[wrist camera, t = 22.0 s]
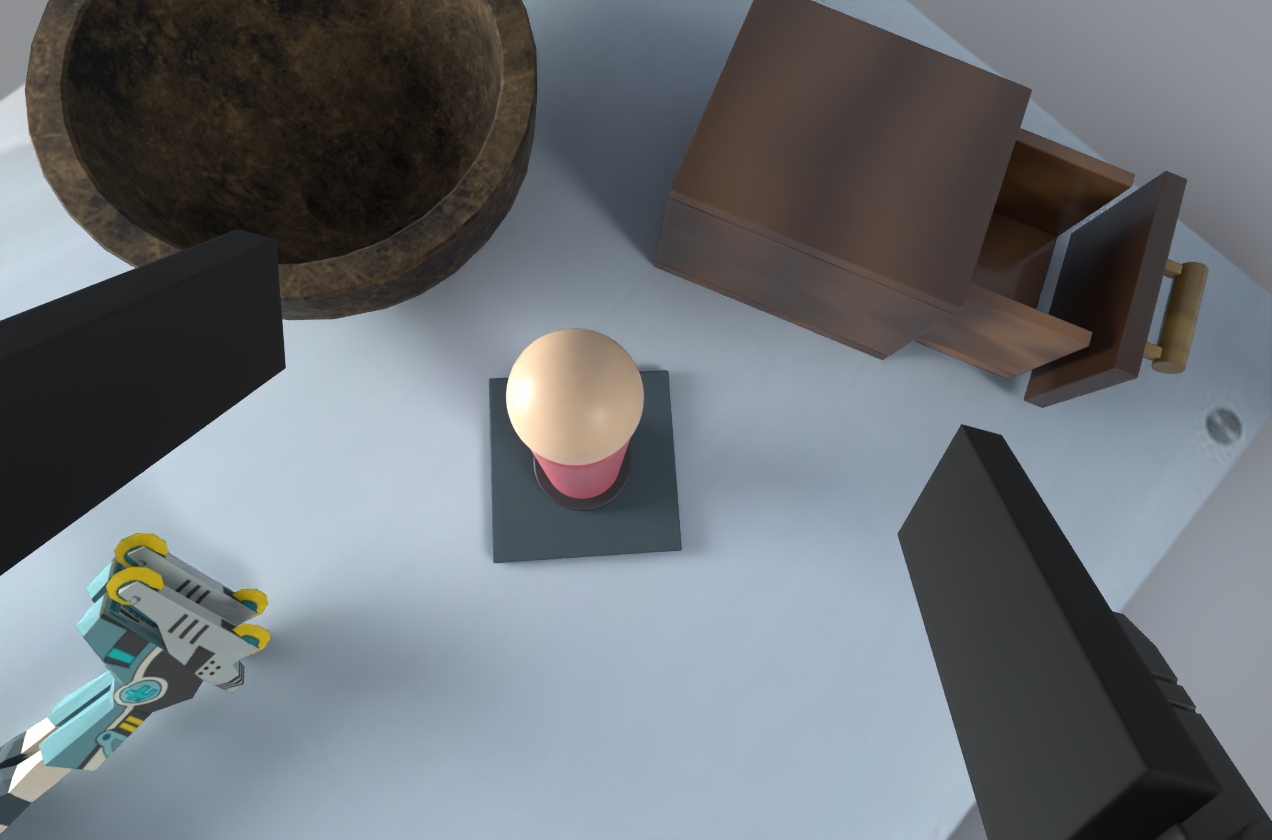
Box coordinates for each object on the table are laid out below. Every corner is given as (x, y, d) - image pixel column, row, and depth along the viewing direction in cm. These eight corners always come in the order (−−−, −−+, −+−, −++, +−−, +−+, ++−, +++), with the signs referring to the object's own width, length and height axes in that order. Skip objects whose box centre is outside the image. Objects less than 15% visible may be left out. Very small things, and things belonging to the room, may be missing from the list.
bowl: (91, 264, 37) (-90, 161, 27) (298, -26, 41) (207, -205, 31) (440, 432, 36) (384, 389, 26) (612, 120, 41) (618, -16, 31)
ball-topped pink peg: (645, 438, 36) (694, 333, 19) (608, 526, 35) (624, 503, 18) (558, 402, 36) (526, 263, 19) (519, 488, 35) (446, 428, 18)
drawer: (1149, 264, 40) (1260, 207, 33) (1105, 434, 38) (1215, 410, 31) (883, 156, 40) (941, 79, 34) (824, 319, 38) (873, 270, 31)
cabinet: (943, 182, 41) (1032, 88, 33) (882, 360, 39) (963, 308, 30) (727, 95, 41) (762, -21, 33) (653, 266, 39) (670, 188, 30)
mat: (680, 550, 36) (681, 550, 35) (494, 562, 35) (492, 563, 34) (666, 372, 38) (668, 370, 37) (490, 381, 37) (488, 378, 36)
